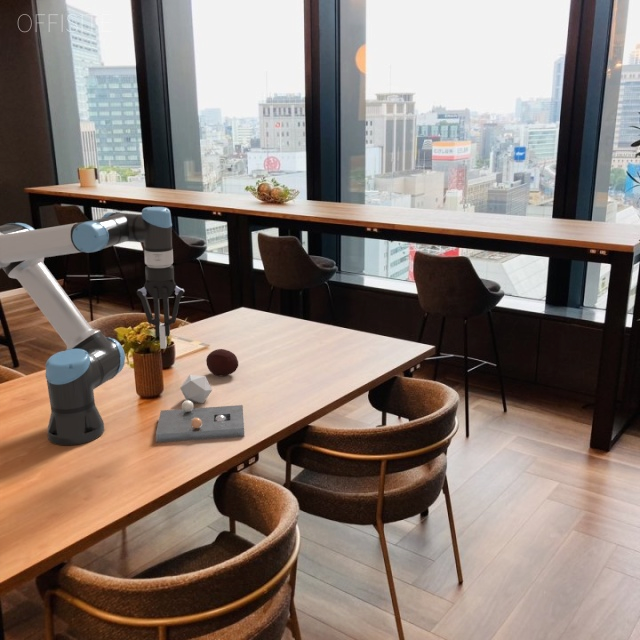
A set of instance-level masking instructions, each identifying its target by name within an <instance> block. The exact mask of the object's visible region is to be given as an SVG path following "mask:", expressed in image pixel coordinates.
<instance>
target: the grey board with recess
mask: <svg viewBox="0 0 640 640" xmlns="http://www.w3.org/2000/svg"><path fill="white" fill-rule="evenodd" d="M243 406H244V405H243V404H239V405H237V404H236V405H226V406H225V405H224V406H208V407H195V408H194V407H193V409H192V410H191V411H190V412H185V411H184V410H183V409H182V408H181V409H180V408H177V409H165V410H163V409H162V410H160V414H159V417H158V422H157V427H156V431H155V438H156V439H155V440H156V443H172V442H182V441H184V442H185V441H186V442H187V441H198V440H210V439H211V440H213V439H225V438H226V439H227V438H239V437H241V438H242V437H245V424H244V423H245V422H244V409H243V408H244V407H243ZM218 415H224V416H225V417H226V419H227V421H215V418H216V417H217V416H218ZM194 418H199V419H201V421H202V425H201V427H200V428H197V429H195V428H193V427H192V426H191V421H192V420H193V419H194Z"/></svg>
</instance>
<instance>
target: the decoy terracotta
mask: <svg viewBox="0 0 640 640" xmlns="http://www.w3.org/2000/svg"><path fill="white" fill-rule="evenodd" d="M201 425H202V421H201V419H199V418H194V419H193V420H192V421H191V426H192V427H193V428H195V429H197V428H200V427H201Z"/></svg>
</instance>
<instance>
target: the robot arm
mask: <svg viewBox="0 0 640 640" xmlns="http://www.w3.org/2000/svg"><path fill="white" fill-rule="evenodd" d="M172 226H173V223H172V214H171V210H170V209H169V208H168V207H164V206H152V207H151V206H147V207H144V208H143V209H142V210H141V214H139V213H138V214H137V213H127V212H120V211H115V212H106V213H104V214H103V216H102V217H101V218H97V219H93V220H87V221H81V222H75V223H69V224H62V225H57V226H51V227H44V228H37V229H35V228H34V227H32V226H31V225H29V224H27V223H22V222H15V223H14V222H10V223H5V224H3V225H0V270H1V269H2V270H3V271H4V272H5V274H6V275H7V276H8V278H11V279H16V280H17V281H18V283H20V285H21V287H23V289H24V290H25V292H26V293H27V294H28V295H29V297H30V298H31V299H32V300H33V302H34V304H35V305H36V306H37V308H38V310H40V312H41V313H42V314H43V316H44V317H45V318H46V320H47V321H48V322H49V324H50V325H51V326H52V328H53V329H54V331H56V333H57V335H59V336H60V338H61V339H62V341H63V343H64V344H65V345H66V349H65V350H64V351H58V352H56V353H54V354H52V355H51V356H50V357H49V358H48V359H47V360H46V362H45V379H46V384H47V391H48V397H49V403H50V405H49V406H50V411H51V412H50V417H49V421H48V426H47V439H48V441H49V442H50V443H52V444H54V445H58V446H75V445H81V444H86V443H89V442H92V441H94V440H96V439H98V438H99V437H101V436H103V434H104V432H105V423H104V420H103V418H102V415H101V414H100V412H99V410H98V408H97V406H96V403H95V401H96V400H95V393H94V391H95V389H96V388H98V387H101V385H103V384H105V383H106V382H108V381H110V380H112V379H114V378H115V377H116V376H117V375H118V374H119V373H120V372H122V370H123V368H124V366H125V360H126V354H125V350H124V348H123V345H121V343H120V342H119V341H118V340H117V339H115V338H111V337H108V336H107V337H106V336H105V334H103V333H102V331H101V330H100V329H95V328H92V326H91V325H90V324H89V323H88V321H87V319H86V318H85V316H84V315H82V313H81V312H80V310H79V308H77V306H76V305H75V303H74V302H73V301H72V300H71V298H70V297H69V295H68V293H66V291H65V290H64V288H63V287H62V286H61V285H60V283H59V282H58V280H57V279H56V278H55V276H54V275H53V274H52V272H51V271H50V269H48V267H47V265H45V263H44V261H45V258H49V257H50V258H51V257H56V256H57V257H58V256H64V255H65V256H66V255H70V254H78V253H88V254H89V253H96V252H98V251H99V252H100V251H102V250H103V249H107V248H109V247H113V246H116V245H119V244H123V243H127V242H129V243H131V242H132V243H133V242H134V243H143V250H144V251H143V252H144V253H143V254H144V265H146V266H145V268H144V269H145V271H144V272H145V283H144V284H143V285H144V286H143V287H142V288H138V289H137V291H136V295H137V296H138V298H139V299H140V301H141V304H142V308H143V311H144V314H145V317H146V321H147V323H148V324H150V325H151V324H152V325H154V328H155V336H156V337H159V344H160V345H159V347H160V349H163V350H164V349H167V346H168V345H167V344H168V343H167V342H168V341H167V337H170V335H171V334H170V333H171V327H170V326H171V325H172V324H176V320H177V317H178V316H177V315H178V311H179V306H180V301H181V298H182V297H183V295H184V293H185V289H184V288H181V287H179V286H178V285H177V283H176V281H175V271H174V265H173V263H174V251H173V250H174V249H173V232H172V231H173V229H172V228H173V227H172ZM174 291H175V292H174ZM173 292H174V294H175V295H176V296H175V300H174V305H173V309H172V314H171V318H170V303H169V302H170V300H169V297H170V296H171V295H172V294H173ZM147 293H148V294H149V296H151V297H152V298H153V299H152V301H153V312H154V313H153V312H152V310H151V307H150V304H149V300H148V297H147ZM160 299H162V303H163V306H162V307H163V321H164V322H161V311H160ZM153 314H154V315H153Z"/></svg>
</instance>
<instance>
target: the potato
mask: <svg viewBox="0 0 640 640" xmlns="http://www.w3.org/2000/svg"><path fill="white" fill-rule="evenodd" d="M205 361H206V366H207V369H208V371H209V372H210V373H211V374H212V375H215V376H218V377H225V376H229V375H232V374H233V373H235V372H236V371H237V370H238V367H239V360H238V358H237V356H236V354H235V353H234V352H232V351H230V350H228V349H225V348H224V349H223V348H217V349H215V350H213V351H211V352H210V353H208V355H207V356H206V360H205Z"/></svg>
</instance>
